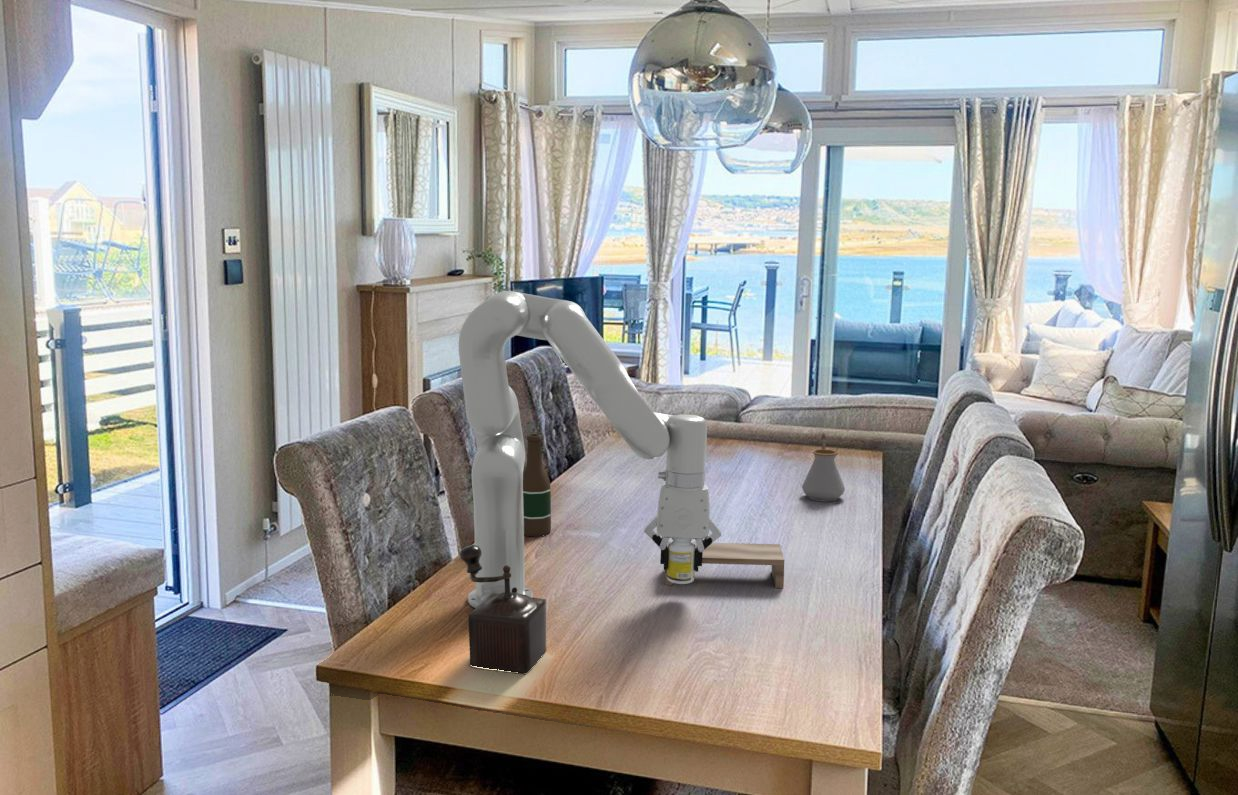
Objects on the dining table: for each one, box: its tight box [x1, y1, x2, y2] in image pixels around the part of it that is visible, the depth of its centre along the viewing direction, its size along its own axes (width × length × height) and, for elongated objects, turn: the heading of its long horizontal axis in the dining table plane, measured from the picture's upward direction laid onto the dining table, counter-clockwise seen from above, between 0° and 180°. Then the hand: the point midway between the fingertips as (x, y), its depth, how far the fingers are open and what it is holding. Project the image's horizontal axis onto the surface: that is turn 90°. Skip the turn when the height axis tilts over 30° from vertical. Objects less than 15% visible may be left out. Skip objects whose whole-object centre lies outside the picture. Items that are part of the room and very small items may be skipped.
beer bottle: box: [523, 433, 552, 537], centre depth 232 cm, size 8×8×24 cm
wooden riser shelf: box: [664, 541, 785, 589], centre depth 203 cm, size 10×24×6 cm, turn 86°
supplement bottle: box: [667, 538, 696, 585], centre depth 191 cm, size 5×5×10 cm
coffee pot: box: [801, 432, 846, 502], centre depth 269 cm, size 21×12×15 cm, turn 169°
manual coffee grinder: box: [459, 544, 547, 674], centre depth 165 cm, size 16×11×18 cm
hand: (680, 567), depth 191 cm, fingers closed on supplement bottle, 5 cm apart
